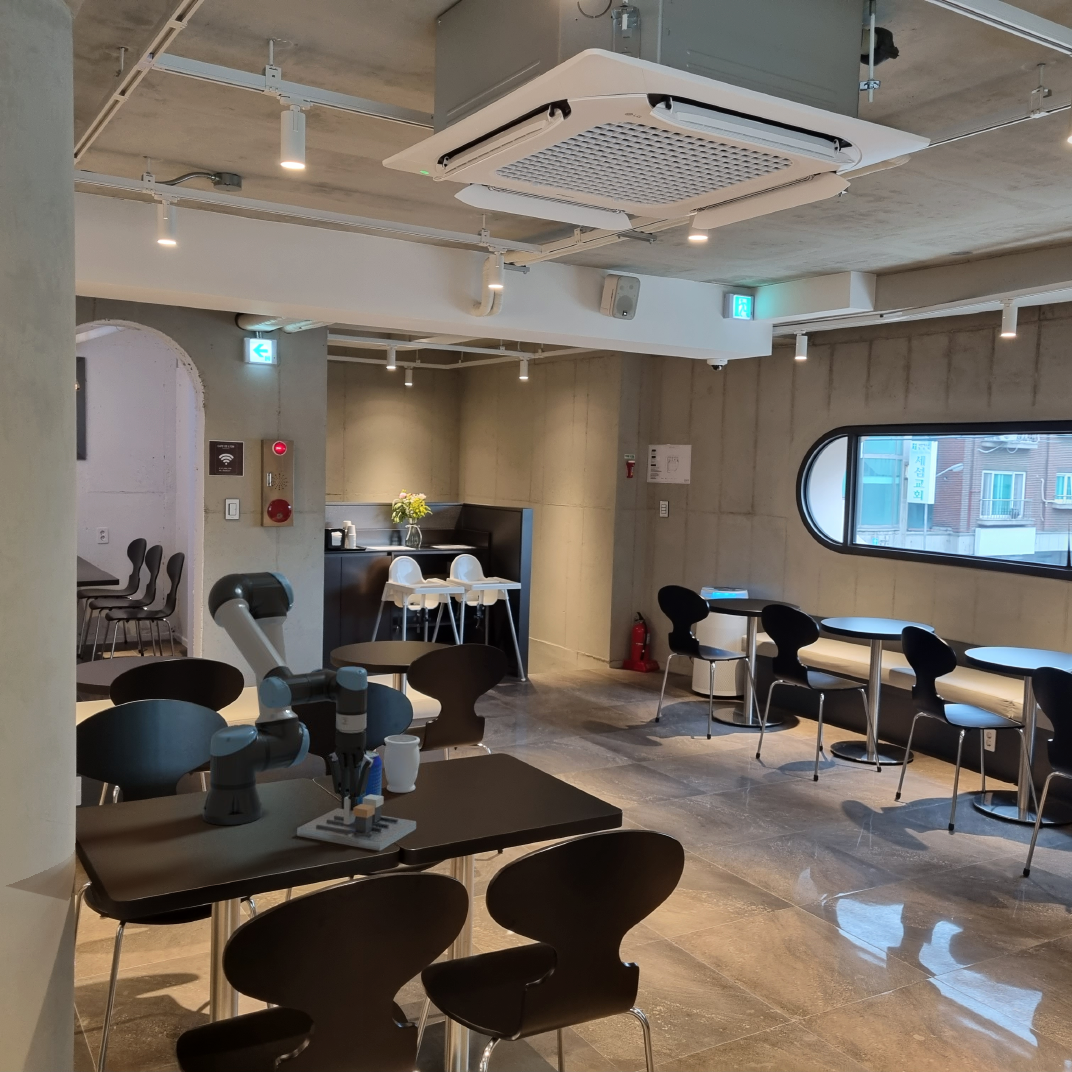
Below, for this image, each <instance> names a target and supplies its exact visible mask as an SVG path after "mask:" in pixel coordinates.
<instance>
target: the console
mask: <svg viewBox="0 0 1072 1072" xmlns="http://www.w3.org/2000/svg"><path fill="white" fill-rule="evenodd" d="M355 820H356V816H355ZM416 829H417V821H416V820H411V819H406V818H405V819H404V818H399V817H393V816H386V815H381V819H380V820H379V821H377V822H372V830H371V831H369V832H367V833H364V832H358V831H355V821H354V822H353V823H351V824H344V809H342V808H338V807H336V808H335V809H333V810H331V811H329V812H326V813H325V814H323V815H321V816H318V817H317V818H314V819H312V820H311V821H308V822H307V823H305V824H303V825H301V826H298V827H297V830H296V836H298V837H303V838H307V839H313V840H318V841H322V842H327V843H335V844H338V845H339V844H340V845H345V846H352V847H357V848H361V849H366V850H367V849H368V850H373V851H379V852H380V851H382V850H384V849H385V848H387V847H388V846H389V847H390V846H391V845H392V844H393V843H395V842H397V841H398V840H400V839H402V838H404V837H405V836H406V835H409V834H410V833H412V832H414V831H415V830H416Z"/></svg>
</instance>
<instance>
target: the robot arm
mask: <svg viewBox="0 0 1072 1072" xmlns="http://www.w3.org/2000/svg"><path fill="white" fill-rule="evenodd" d="M294 599H295V595H294V590H293V587H292V584H291V582H290V581H289V579H288V578H287V577H286V576H285V575H283V573H280V572H272V571H271V572H269V571H263V572H243V573H229V574H226V575H224V576H222V577H221V578H219V579H218V580H217V581H215V583H214V584H213V585H212V587H211V589H210V591H209V594H208V598H207V605H208V611H209V615H210V617H211V618H212V620H213V621H214V622H215V624H216V625H217V626H218V627H220V628H223V629H224V630H225V631H226V634H228V636H229V637H230V639H231V641H232V642H233V643H234V645H235V647H236V648H237V649H238V651H239V652H240V654H241V655H242V657H243V658H244V659H245V661H246V662H247V664H248V666H249V667H250V668H251V669H252V671H253V673H254V674H255V684H256V693H257V703H258V710H259V715H258V717H257V718H256V720H255V721H254V725H253V724H248V723H243V724H242V723H241V724H234V725H228V726H225V727H223V728H220V729H218V730H217V731H216V732H214V734H212V736H211V739H210V748H209V753H210V754H209V755H210V757H209V758H210V761H209V762H210V764H209V765H210V766H209V767H210V768H209V771H210V772H209V773H210V774H209V777H210V779H209V780H210V782H209V784H210V785H209V790H208V793H207V797H206V800H205V803H204V806H203V808H202V820H203V821H204V822H206V823H208V824H212V825H219V826H234V825H241V824H247V823H250V822H254V821H256V820H258V819H260V818H261V817H263V816H262V815H263V805H262V802H261V800H260V796H259V795H260V794H259V792H258V789H257V774H259V773H265V772H270V771H274V770H279V769H280V770H281V769H287V768H290V767H294V766H296V765H299V764H301V763H302V762H303V761H304V760H305V758H306V756H307V754H308V751H309V748H310V734H309V730H308V729H307V726H306V725H305V724H304V723H303V722H301V721H299V716H298V714H296V713H295V712H294V711H293V710H292V706H297V705H302V704H313V703H318V702H325V701H326V702H327V701H328V702H332V703H336V708H335V710H336V711H335V716H336V717H335V718H336V719H335V720H336V721H335V729H336V730H335V745H336V747H335V748H334V752H332V753H329V754H327V755H326V760H327V762H328V763H329V769H330V775H331V778H332V784H333V790H334V793H335V794H339V796H340V797H341V809H344V824H351V823H353V822H354V821H355V816H353V808H354V807H356V806H358V797H360V796H362V795H364V794H365V791H366V787H367V783H368V778H369V774H370V770H371V767H372V765H373V764H374V762H375V760H374V759H370V758H369V757H368V756H367V753H366V751H367V749H366V745H367V730H366V728H367V716H368V715H367V707H368V686H369V683H368V671H367V669H366V668H363V667H361V666H344V667H343V666H342V667H340V668H339V669H338V670H337V671H334V670H332V669H329V668H316V669H313V670H312V671H310V672H306V673H297V674H294V673H293V672H292V670H291V669H290V668H289V666H287V665H288V664H287V656H286V655H287V654H286V648H285V647H286V646H285V639H284V638H285V637H284V628H283V625H284V622H286V620H287V619H288V614H287V613H288V612H289V611H291V609H292V608H293V606H294V605H293V604H294V601H295V600H294ZM362 761H363V763H362V764H363V767H362V770H361V774H360V778H359V770H360V764H361V762H362Z"/></svg>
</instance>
